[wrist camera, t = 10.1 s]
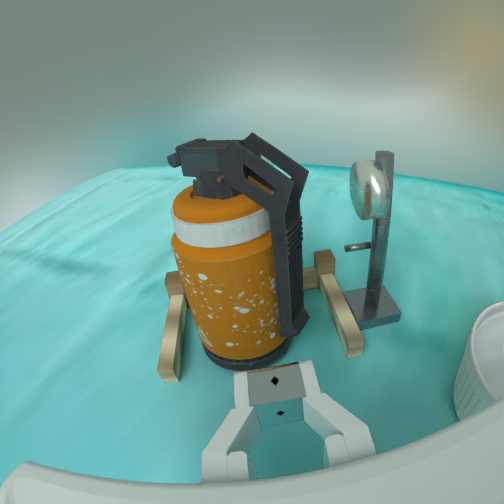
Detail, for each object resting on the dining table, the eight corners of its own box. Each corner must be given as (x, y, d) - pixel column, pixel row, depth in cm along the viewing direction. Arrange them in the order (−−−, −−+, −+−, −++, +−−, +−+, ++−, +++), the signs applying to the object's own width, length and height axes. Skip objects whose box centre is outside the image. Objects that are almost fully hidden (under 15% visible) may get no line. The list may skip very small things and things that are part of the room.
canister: (236, 302, 36) (204, 127, 26) (324, 330, 30) (324, 125, 20) (187, 353, 30) (123, 156, 19) (283, 398, 24) (259, 155, 14)
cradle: (364, 354, 27) (370, 325, 25) (161, 382, 27) (147, 356, 25) (329, 276, 38) (330, 249, 36) (175, 298, 38) (166, 272, 36)
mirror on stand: (381, 292, 34) (395, 145, 25) (398, 321, 30) (424, 160, 21) (334, 301, 34) (336, 148, 25) (347, 332, 30) (358, 163, 21)
